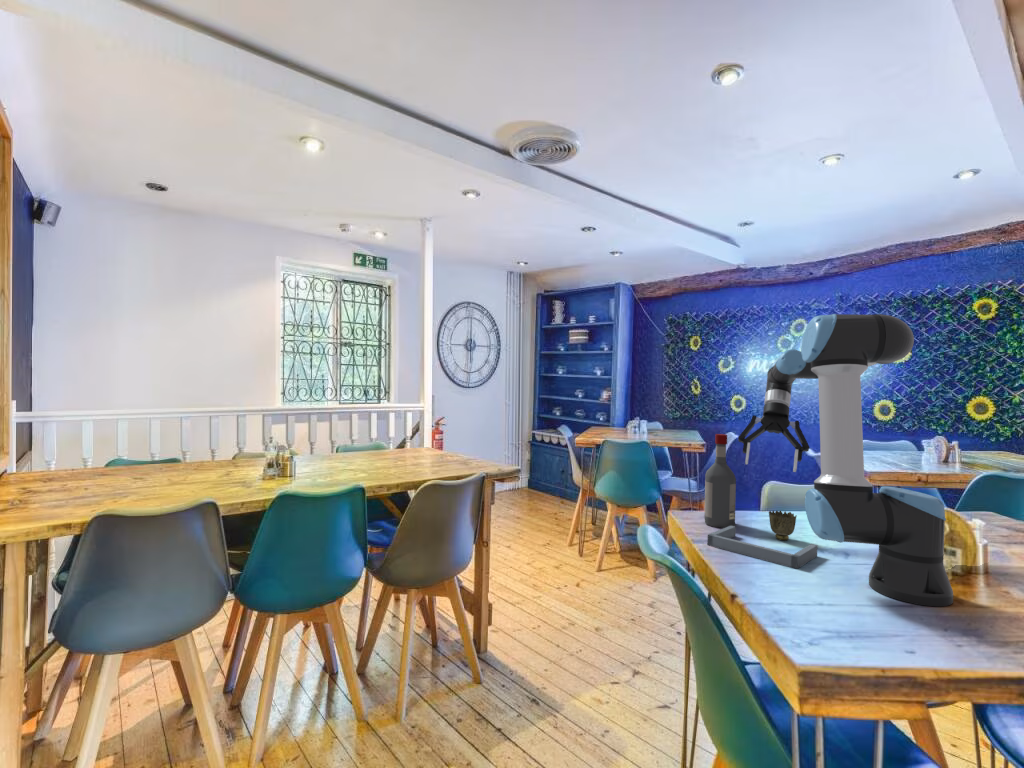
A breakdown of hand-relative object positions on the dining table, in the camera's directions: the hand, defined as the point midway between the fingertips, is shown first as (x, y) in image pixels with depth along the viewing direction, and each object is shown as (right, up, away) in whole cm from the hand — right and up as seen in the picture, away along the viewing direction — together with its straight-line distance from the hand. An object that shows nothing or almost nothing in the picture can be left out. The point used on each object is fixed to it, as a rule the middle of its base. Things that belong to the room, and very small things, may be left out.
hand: (770, 466), depth 159 cm
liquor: (-12, -21, +10) cm, 26 cm away
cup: (+1, -21, -5) cm, 22 cm away
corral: (-10, -21, -15) cm, 28 cm away
